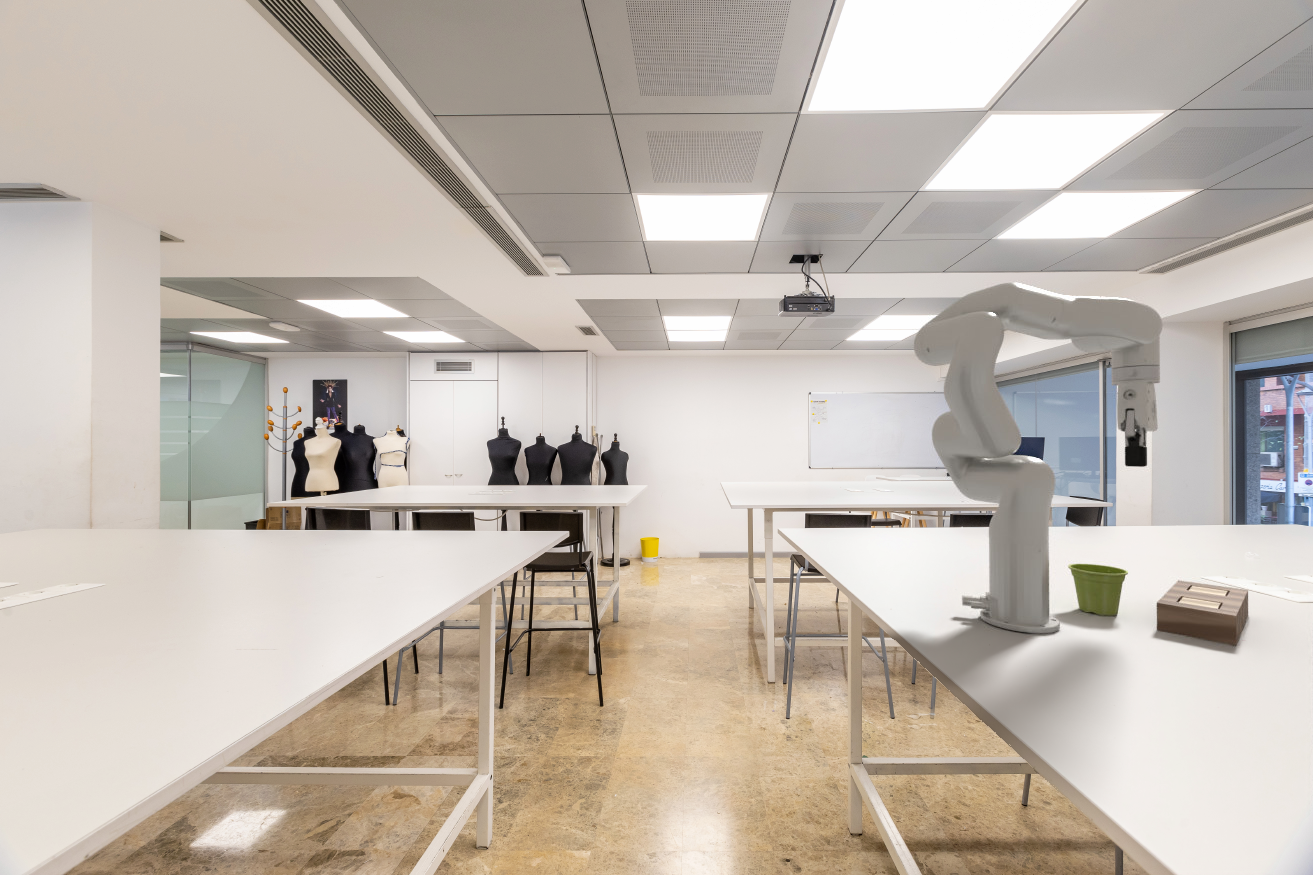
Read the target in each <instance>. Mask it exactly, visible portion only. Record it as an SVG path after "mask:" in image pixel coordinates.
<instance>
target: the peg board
mask: <svg viewBox="0 0 1313 875" xmlns="http://www.w3.org/2000/svg"><path fill="white" fill-rule="evenodd" d="M1192 586H1196V587H1203V588H1210V589H1217V590H1224V591H1228V595H1227V596H1223V595H1217V594H1210V593H1203V592H1196V591H1190V590H1189V589H1190V588H1191V587H1192ZM1183 597H1185V598H1191V599H1198V600H1204V601H1210V602H1217V603H1221V608H1220V609H1217V608H1211V607H1205V606H1199V605H1192V604H1186V603H1180V602H1179V601H1180V600H1181V599H1182V598H1183ZM1248 617H1249V589H1242V588H1237V587H1229V586H1221V585H1217V584H1216V585H1215V584H1207V583H1200V582H1199V583H1198V582H1192V581H1187V580H1186V581H1185V580H1179V579H1177V581H1176V582H1175V583H1174V584H1173V585H1172V586H1171V587H1170V588H1169V589H1168V590H1167V591H1166V592H1165V593H1164V595H1162V597H1161V598H1159V599H1158V601H1157V602H1156V631H1159V632H1165V633H1169V634H1170V633H1171V634H1174V635H1179V636H1180V635H1181V636H1185V637H1190V638H1193V639H1194V638H1196V639H1200V640H1204V641H1205V640H1206V641H1211V642H1216V643H1220V644H1226V645H1232V646H1237V645H1238V643H1239V640H1240V638H1241V635H1242V632H1243V630H1244V628H1245V625H1246V623H1247V620H1248Z"/></svg>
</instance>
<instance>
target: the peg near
mask: <svg viewBox="0 0 1313 875" xmlns="http://www.w3.org/2000/svg"><path fill="white" fill-rule="evenodd" d="M1179 602H1180V603H1186V604H1192V605H1199V606H1205V607H1211V608H1217V609H1220V608H1221V603H1217V602H1210V601H1204V600H1198V599H1191V598H1185V597H1183V598H1182V599H1181V600H1180V601H1179Z"/></svg>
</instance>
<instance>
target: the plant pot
mask: <svg viewBox="0 0 1313 875" xmlns="http://www.w3.org/2000/svg"><path fill="white" fill-rule="evenodd" d="M1068 569H1069V570H1070V572H1071V576H1072V578H1073V582H1074V587H1075V588H1074V589H1075V591H1076V592H1075V593H1076V598H1077V603H1078V609H1079V610H1080V611H1083V612H1085V613H1094V614H1096V615H1099V616H1110V617H1111V616H1115V615H1118V613H1119V608H1120V601H1121V594H1122V589H1123V583H1124V581H1125V579H1126V575H1128V574H1129V571H1128V570H1126V569H1123V568H1120V567H1115V566H1110V565H1103V564H1102V565H1101V564H1092V563H1072V564H1068Z"/></svg>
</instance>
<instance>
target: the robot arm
mask: <svg viewBox="0 0 1313 875" xmlns="http://www.w3.org/2000/svg"><path fill="white" fill-rule="evenodd" d="M1163 326H1164V325H1163V319H1162V317H1161V316H1160V314H1159V313H1158V311H1157V310H1156V309H1154V308H1153V307H1151V306H1149V305H1147V304H1145V303H1142V302H1140V301H1136V300H1132V299H1127V298H1121V297H1120V298H1119V297H1105V296H1101V297H1100V296H1086V295H1085V296H1083V295H1078V296H1076V295H1073V296H1072V295H1063V294H1058V293H1056V292H1055V293H1054V292H1051V291H1047V290H1044V289H1041V288H1037V287H1034V286H1030V285H1026V284H1024V283H1023V284H1022V283H1019V282H1003V283H1000V284H999V283H998V284H996V285H993V286H990V287H987V288H982V289H980V290H977V291H973V292H970V293H967V294H966V295H964V296H962V297H961V298H959V299H958V300H956V301H955V302H953V303H952V304H950V305H949V306H948V307H947V308H945V309H944V310H943V311H941V312H940V313H939V314H937V315H936V316H935V317H933V318H932V319H930V320H929V321H928V322H926V323H925V324H924V325H923V326H922V327H921V328H920V329H919V330H918V332H917V333H916V335H915V337H914V339H913V340H914V341H913V350H914V354H915V356H916V357H917V358H918V360H919V361H920V362H921V363H923V364H925V365H928V366H933V367H938V366H945V365H949V367H948V369H947V372H946V376H945V380H944V384H943V396H944V399H945V402H946V403H947V406H948V407H949V411H946V412H944V413H942V414H940V415H939V416H938V417H937V418H936V420H935V421H934V423H933V426H932V429H931V440H932V444H933V445H932V446H933V448H934V450H935V452H936V454H937V455H938V457H939V459H940V460H941V462H942V465H943V466H944V469H946V471H947V474H948V475H949V476H950V479H951V480H952V481H953V484H954V485H955V487H956V488H957V490H958V491H959V492H960V493H961V495H964V497H966V498H968V499H970V500H974V501H977V502H983V503H984V502H985V503H989V504H990V503H992V504H998V507H997V509H996V510H995V512H994V513H993V515H992V517H991V519H990V522H989V525H988V526H989V527H988V564H989V565H988V571H989V572H988V573H989V574H988V576H989V577H988V578H989V584H988V585H989V587H988V588H989V591H986V592H985V595H980V596H978V597H977V596H972V595H962V596H961V604H962V605H961V606H965V607H970V609H974V610H975V609H976V610H980V611H979V613H980V614H979V616H980V619H981V620H983V622H985V623H987V624H990V625H992V626H993V627H994V626H995V627H999V628H1001V629H1005V630H1008V631H1009V630H1010V631H1013V632H1014V631H1016V632H1020V633H1029V634H1050V633H1055V632H1058V631H1059V630H1060V627H1061V623H1060V621H1059V619H1057V618H1056V617H1054V616H1052V615H1050V543H1049V542H1050V541H1049V538H1050V537H1049V536H1050V535H1049V532H1050V531H1049V530H1050V528H1049V527H1050V525H1049V524H1050V512H1051V508H1052V503H1053V502H1052V501H1053V498H1054V493H1055V489H1056V488H1055V487H1056V476H1055V473H1054V471H1053V469H1052V467H1051V466H1050V465H1049V464H1048V463H1047V462H1045V461H1044V460H1042V459H1040V458H1037V457H1034V456H1030V455H1029V456H1028V455H1024V454H1023V455H1021V454H1020V455H1017V454H1015V453H1016V452H1017V451H1018V450H1019V448H1020V446H1021V445H1022V435H1021V432H1020V428H1019V426H1018V424H1017V422H1016V420H1015V418H1014V416H1013V414H1012V412H1011V411H1010V409H1009V407H1008V405H1007V403H1006V402H1005V400H1004V397H1003V396H1002V393H1001V391H1000V390H999V388H998V385H997V383H996V380H995V369H996V368H995V367H996V362H997V358H998V356H999V353H1000V351H1001V348H1002V346H1003V343H1004V342H1003V341H1004V339H1005V331H1010V332H1014V333H1019V334H1023V335H1027V336H1031V337H1035V338H1038V339H1042V340H1050V341H1051V340H1057V341H1058V340H1070V341H1071V343H1072V344H1073V346H1074V347H1075V348H1076V349H1078V350H1079V351H1081V352H1083V353H1088V354H1089V353H1090V354H1091V353H1092V354H1094V353H1095V354H1097V353H1104V352H1111V353H1110V354H1111V357H1110V358H1111V386H1117V395H1116V396H1117V400H1116V402H1117V403H1116V412H1117V413H1116V415H1117V418H1116V422H1117V429H1118V430H1119V431H1120V432H1124V444H1125V447H1124V465H1125V467H1132V468H1133V467H1139V468H1140V467H1142V468H1143V467H1147V466H1148V447H1147V438H1148V437H1147V432H1155V431H1157V430H1158V429H1159V428H1158V411H1157V395H1156V388H1155V384H1160V382H1161V366H1160V364H1161V362H1160V361H1161V359H1160V358H1161V353H1160V351H1161V350H1160V345H1161V344H1160V339H1161V338H1160V335H1161V332H1162V330H1163Z"/></svg>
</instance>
